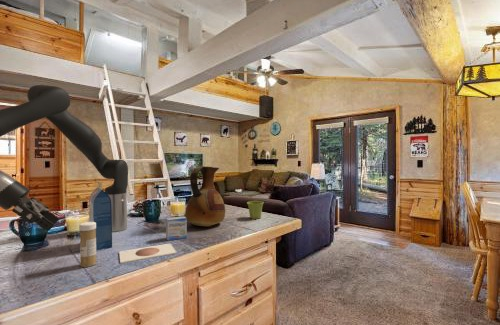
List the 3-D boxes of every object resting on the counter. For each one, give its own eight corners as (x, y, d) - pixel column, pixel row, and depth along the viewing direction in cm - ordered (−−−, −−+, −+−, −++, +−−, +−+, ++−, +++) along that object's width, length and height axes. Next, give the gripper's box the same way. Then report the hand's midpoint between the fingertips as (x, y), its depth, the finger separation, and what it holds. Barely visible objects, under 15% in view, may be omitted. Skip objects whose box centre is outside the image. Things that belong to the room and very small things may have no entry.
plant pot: (245, 219, 143) (245, 203, 143) (248, 215, 152) (248, 200, 152) (262, 220, 141) (262, 204, 141) (264, 216, 151) (264, 201, 150)
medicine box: (167, 241, 107) (167, 220, 107) (165, 238, 111) (165, 217, 111) (187, 238, 111) (186, 217, 111) (184, 235, 115) (184, 215, 115)
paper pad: (119, 252, 95) (119, 251, 95) (170, 244, 103) (170, 243, 103) (120, 263, 85) (120, 261, 85) (176, 253, 93) (176, 251, 93)
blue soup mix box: (93, 251, 96) (92, 183, 96) (89, 242, 106) (88, 181, 105) (112, 247, 100) (111, 182, 100) (107, 239, 110) (106, 180, 109)
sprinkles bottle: (78, 265, 84) (77, 223, 84) (93, 260, 87) (92, 220, 87) (83, 269, 81) (82, 225, 81) (99, 264, 84) (98, 222, 84)
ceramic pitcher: (232, 222, 136) (232, 165, 135) (206, 232, 119) (206, 166, 119) (204, 218, 147) (204, 164, 146) (176, 226, 130) (176, 166, 129)
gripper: (6, 182, 69) (61, 220, 75) (22, 178, 82) (68, 210, 87) (-21, 203, 67) (38, 241, 72) (0, 196, 79) (48, 228, 85)
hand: (54, 224), depth 80 cm, fingers open, 8 cm apart
